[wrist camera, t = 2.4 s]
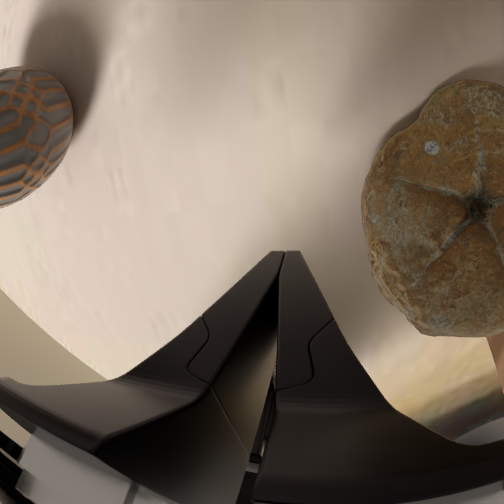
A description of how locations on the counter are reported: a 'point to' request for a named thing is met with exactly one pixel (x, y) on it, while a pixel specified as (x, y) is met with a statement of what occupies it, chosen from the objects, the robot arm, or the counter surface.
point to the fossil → (442, 214)
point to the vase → (31, 130)
